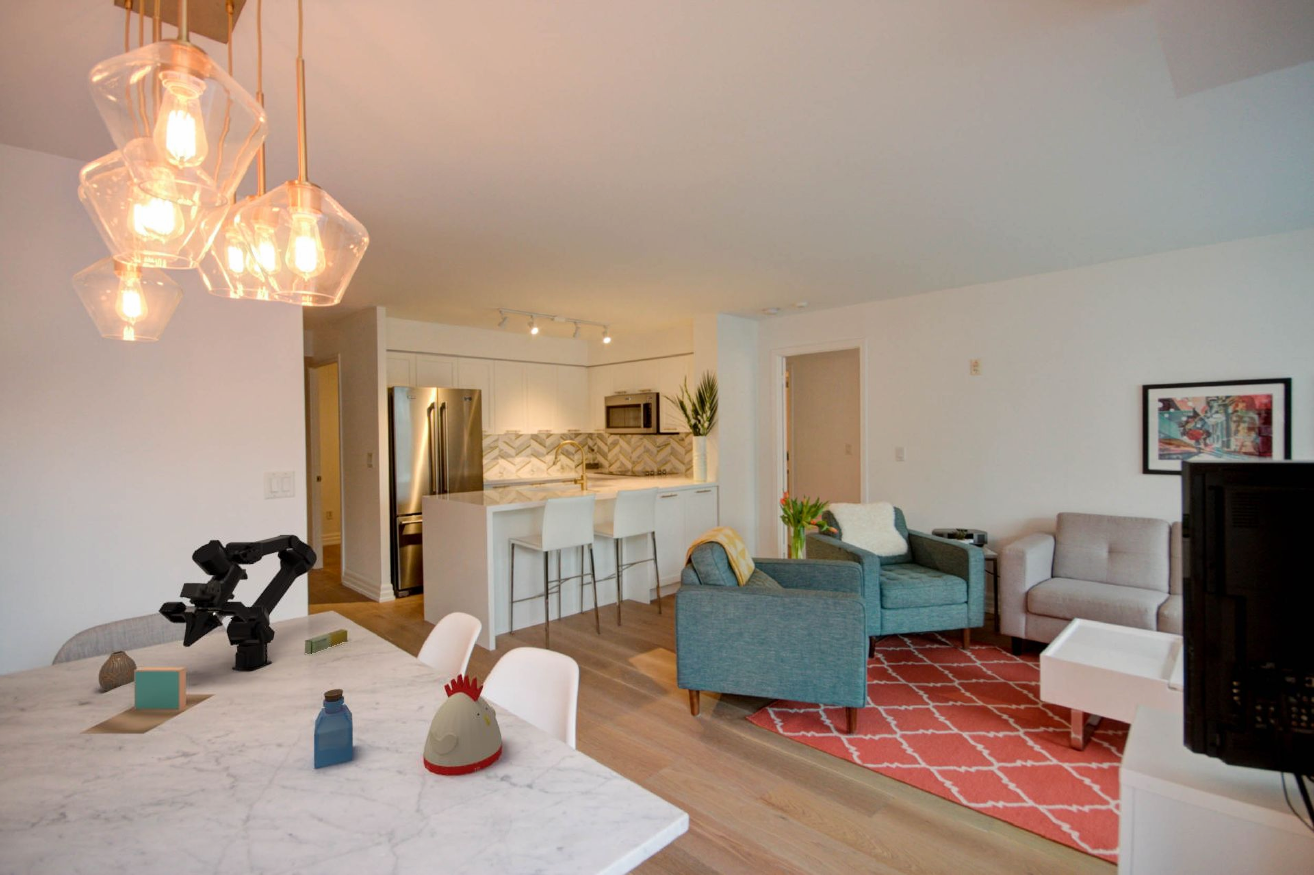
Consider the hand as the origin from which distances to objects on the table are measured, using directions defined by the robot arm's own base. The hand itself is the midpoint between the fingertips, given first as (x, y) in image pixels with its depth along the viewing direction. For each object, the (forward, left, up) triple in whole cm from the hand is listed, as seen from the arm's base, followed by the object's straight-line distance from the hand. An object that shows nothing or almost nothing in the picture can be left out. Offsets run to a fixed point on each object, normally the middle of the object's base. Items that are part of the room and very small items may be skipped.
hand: (185, 646), depth 139 cm
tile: (+7, +2, -11) cm, 13 cm away
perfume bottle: (+11, +52, -13) cm, 55 cm away
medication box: (-38, +2, -13) cm, 40 cm away
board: (+9, +2, -13) cm, 15 cm away
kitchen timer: (+4, +75, -13) cm, 77 cm away
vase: (-1, -24, -13) cm, 27 cm away
